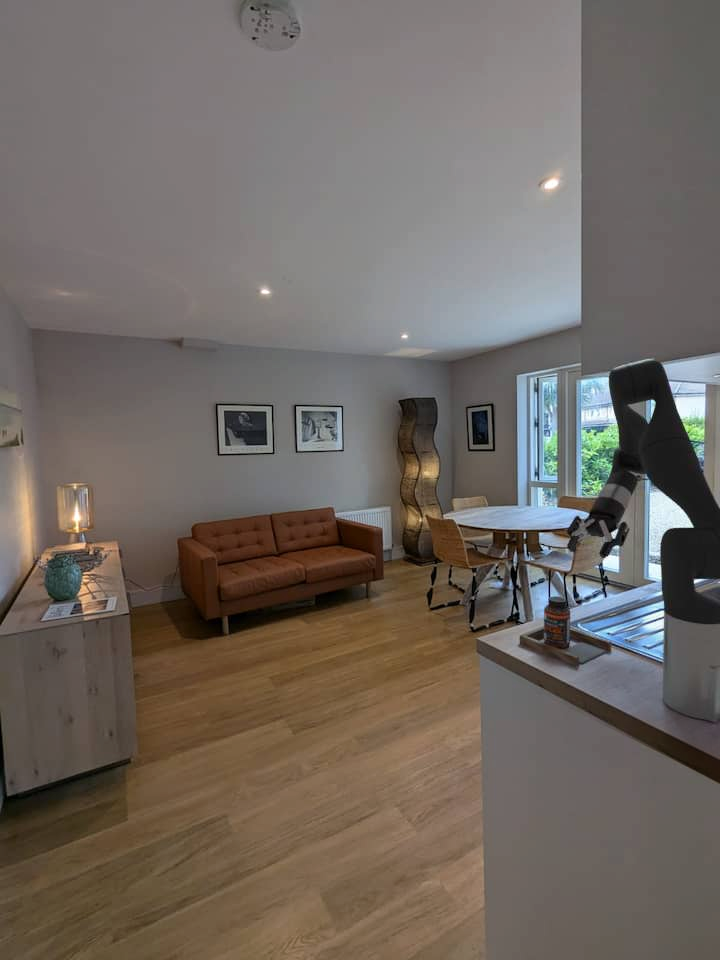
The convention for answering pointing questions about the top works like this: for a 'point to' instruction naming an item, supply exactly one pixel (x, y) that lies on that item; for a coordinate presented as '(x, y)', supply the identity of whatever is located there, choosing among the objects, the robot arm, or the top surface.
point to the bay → (567, 657)
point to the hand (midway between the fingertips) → (585, 553)
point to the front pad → (585, 651)
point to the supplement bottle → (557, 623)
